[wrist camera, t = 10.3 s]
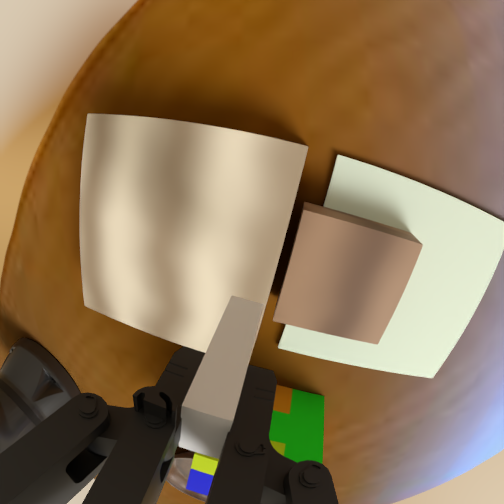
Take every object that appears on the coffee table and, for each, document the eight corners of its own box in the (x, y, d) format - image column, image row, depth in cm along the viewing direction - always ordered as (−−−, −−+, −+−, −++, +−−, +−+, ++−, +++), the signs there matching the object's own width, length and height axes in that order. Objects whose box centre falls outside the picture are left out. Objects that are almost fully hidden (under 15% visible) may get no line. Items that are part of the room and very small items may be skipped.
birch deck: (105, 288, 26) (84, 305, 23) (115, 114, 20) (87, 113, 16) (255, 338, 24) (247, 366, 21) (308, 146, 18) (308, 146, 15)
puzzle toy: (211, 420, 31) (185, 488, 21) (226, 369, 27) (194, 453, 18) (290, 442, 30) (280, 512, 21) (324, 395, 26) (321, 482, 17)
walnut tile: (276, 302, 22) (272, 320, 20) (304, 201, 19) (303, 209, 17) (372, 325, 22) (377, 344, 19) (411, 232, 18) (423, 244, 16)
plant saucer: (170, 425, 33) (161, 443, 30) (312, 467, 32) (311, 486, 29) (162, 471, 41) (156, 484, 38) (265, 502, 40) (262, 516, 37)
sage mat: (278, 345, 24) (277, 347, 24) (337, 154, 18) (337, 154, 18) (431, 375, 23) (432, 378, 23) (509, 224, 17) (512, 226, 16)
